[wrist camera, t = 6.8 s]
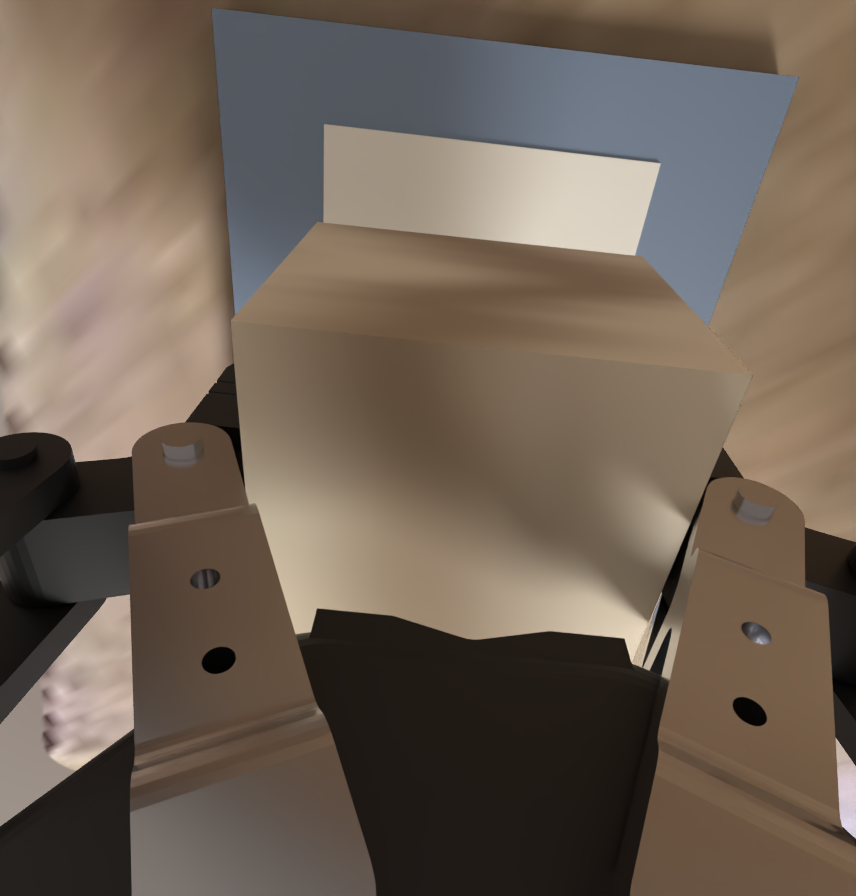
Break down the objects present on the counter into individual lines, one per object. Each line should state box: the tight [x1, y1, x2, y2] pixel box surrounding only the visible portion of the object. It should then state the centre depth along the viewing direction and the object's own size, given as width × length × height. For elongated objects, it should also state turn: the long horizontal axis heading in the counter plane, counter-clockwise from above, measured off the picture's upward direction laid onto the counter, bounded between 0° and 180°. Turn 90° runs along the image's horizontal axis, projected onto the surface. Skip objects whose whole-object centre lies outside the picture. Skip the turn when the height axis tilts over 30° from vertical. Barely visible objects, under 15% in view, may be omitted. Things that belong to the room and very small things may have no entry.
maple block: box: [230, 222, 753, 662], centre depth 11 cm, size 6×6×5 cm
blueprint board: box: [211, 8, 799, 326], centre depth 21 cm, size 13×26×1 cm, turn 174°
